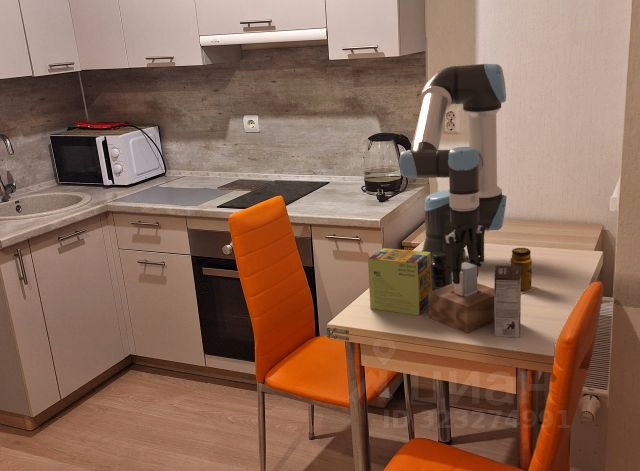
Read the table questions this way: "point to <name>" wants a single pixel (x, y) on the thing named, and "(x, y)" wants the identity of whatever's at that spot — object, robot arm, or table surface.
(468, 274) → the peg
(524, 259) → the condiment
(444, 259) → the supplement bottle
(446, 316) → the block
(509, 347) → the table surface
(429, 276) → the protein box
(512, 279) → the coffee box
